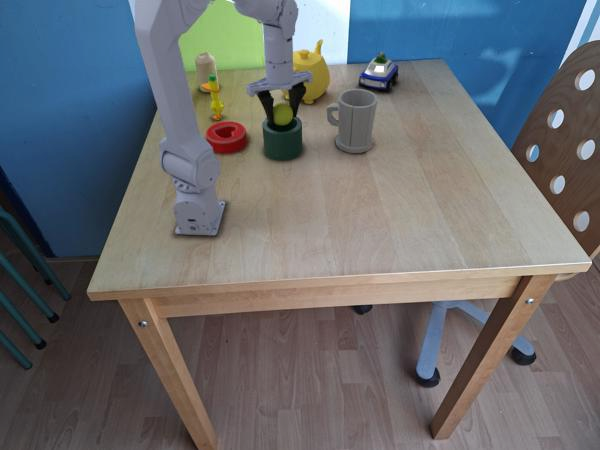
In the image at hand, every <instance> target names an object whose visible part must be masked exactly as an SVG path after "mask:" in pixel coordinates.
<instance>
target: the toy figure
mask: <svg viewBox="0 0 600 450" xmlns="http://www.w3.org/2000/svg"><path fill="white" fill-rule="evenodd" d="M208 80H209V81H208V82H209V83H205V84H202V85H201V86H202V88H203V89H204V90H206V91H209V92H208V93H210V96H211V98H212V101H211V103H210V109H211V112H213V114H214V115H212V119H213V120H216V121H219V120H220V119H222V118H223V117H222V116H221V114H222V112H223V110H224V108H225V105H224V104H225V103H224V102H223V101H222V100H220V92H221V89H220V86H219V87H218V84H219V81H218V82H217V78H216V75H215V74H210V75H209V78H208Z"/></svg>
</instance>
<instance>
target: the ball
mask: <svg viewBox="0 0 600 450" xmlns="http://www.w3.org/2000/svg"><path fill="white" fill-rule="evenodd" d="M273 116H274V123H276V124H277V125H281V126H283V125H287V124H288V123H289V122H290V121H291V120H292V117H293V111H292V108H291V107H290V106H289V104H288V103H286V102H282V101H281V102H280V101H279V102H277V103H275V104H273Z"/></svg>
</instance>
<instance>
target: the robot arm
mask: <svg viewBox="0 0 600 450" xmlns="http://www.w3.org/2000/svg"><path fill="white" fill-rule="evenodd" d="M215 1H216V0H134V33H135V37H136V41H137V44H138V47H139V51H140V54H141V58H142V61H143V64H144V68H145V71H146V74H147V77H148V81H149V84H150V88H151V90H152V94H153V98H154V101H155V104H156V107H157V110H158V114H159V117H160V121H161V124H162V128H163V131H164V134H165V136H163V138H161V140H160V141H159V142H158V144H157V145H158V148H159V152H160V153H159V167H160V168H161V170H162V172H164V173H165V174H167V175H169V177H170V180H171V181H172V182H173V185H174V190H175V194H176V195H175V196H176V198H175V203H174V206H173V215H174V217H175V221H176V227H175V231H174V233H175V235H190V236H191V235H192V236H217V235H218V231H219V228H220V224H221V221H222V218H223V213H224V210H225V206H226V202H225V201H223V200H219V199H218V194H217V188H216V183H217V181H218V180H219V178H220V174H221V162H220V159H219V158H218V157H217V156H216V155H215V152H214V151H213V148H212V146H211V145H210V144H209V143H208V142H207V139H206V137H204V136H203V135H202V134H201V132H200V129H199V124H198V123H199V122H198V119H197V115H196V110H195V106H194V101H193V98H192V93H191V89H190V86H189V81H188V76H187V72H186V68H185V64H184V60H183V56H182V51H181V47H180V41H179V40H180V39H181V36H182V35H185V34H186V33H187V32H188V31H189V30H190V29H191V28H192V27H193V26H194V24H195V23H197V21H198V20H199V18H200V17H202V15H203V14H204V13H205V12H206V11H207V9H208V8H209V6H210V4H211V2H215ZM226 1H227V2H231V3H233V6H234V8H235V10H236V12H237V13H239V14H240V15H241V16H245V17H247V18H250V19H252V20H255V21H256V22H257V23H258V24H259V25H261V26H262V37H263V38H262V39H263V51H264V64H265V65H264V66H265V76H264V77H262V78H260V79H258V80H256V81H254V82H251V83H247V84H245V89H246V94H247V95H248V96H249V97H250V98H254V97H255V95H256V96H257V98H258V100H259V102H260V104H261V106H262V107H263V110H264V113H265V116H266V118H267V120H268V121H269V122H270V124H272V123H274V116H273V106H274V103H275V101H274V100H275V98H274V97H273V96H272V93H271V92H272V91H276V90H280V89H282V90H284V91H286V90H288V93H289V99H288V101H289V102H288V103H289V104H288V105H289V106H290V107H291V108H292V111H293V117H294V118H295V117H298V112H299V109H300V105H301V102H302V100H303V99H302V98H303V96H304V95H305V93H306V87H305V86H304V83H306V82H307V83H312V82H313V74H312V73H311V72H310V71H303V72H293V52H294V46H293V45H294V44H293V43H294V42H293V41H294V39H293V36H295V33H296V23H297V20H298V17H299V7H298V4H297V2H296V0H226Z"/></svg>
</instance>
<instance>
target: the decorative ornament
mask: <svg viewBox="0 0 600 450" xmlns="http://www.w3.org/2000/svg"><path fill="white" fill-rule="evenodd" d="M205 140H206V141H207V142H208V143H209V144H210V145H211V146H212V148H213V152H214V153H216V154H217V153H218V154H233V153H237V152H239V151H240V150H243V149H244V148H245V147H246V145H247V144H248V135H247V129H246V127H245V126H244V125H243V124H241V123H240V122H237V121H231V120H227V121H219V122H217V123H214V124H212V125H210V126H209V127H208V128H207V129H206V131H205Z"/></svg>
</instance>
